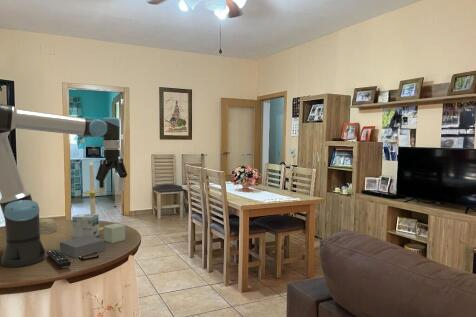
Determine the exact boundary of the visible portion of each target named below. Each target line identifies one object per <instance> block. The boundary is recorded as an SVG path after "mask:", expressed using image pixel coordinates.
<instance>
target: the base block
mask: <svg viewBox="0 0 476 317" xmlns="http://www.w3.org/2000/svg"><path fill="white" fill-rule="evenodd" d="M105 242H106V241H104V238H99V237H97V236H96V237H93V236H90V235H87V236H83V237H78V238H70V239H67V240H61V241H60V242H59V248H60V249H59V252H61V254H63V255H65V256H68V257H71V258H73V259H75V260H76V259H79V256H80V255H83V254H87V253H92V252H97V254H99V253H101V252H105V251H106V247H105V245H106V244H105Z"/></svg>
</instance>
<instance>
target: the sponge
mask: <svg viewBox="0 0 476 317" xmlns="http://www.w3.org/2000/svg"><path fill="white" fill-rule="evenodd" d="M39 224H40V235H47V234H52V233H56V232H57V230H58V229H57V222H56V220H54V219H52V218H47V217H46V218H43V217H42V218H39Z"/></svg>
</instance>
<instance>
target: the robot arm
mask: <svg viewBox="0 0 476 317" xmlns="http://www.w3.org/2000/svg"><path fill="white" fill-rule="evenodd" d="M120 128H121V127H120V119H119V118H118V117H109V116H108V117H103V118H102V120H101V119H98V118H97V119H93V118H84V117H79V116H72V115H63V114H56V113H48V112H41V111H34V110H33V111H32V110H27V109H19V108H17V107H15V106H14V105H8V104H3V103H0V195H1V198H0V208H1V212H2V215H3V218H4V223H5V227H4V228H5V247H4V250H3V253H2V257H1V265H2V266H3V267H7V268H17V267H18V268H19V267H24V266H29V265H30V266H31V265H35V264H37V263H40V262H42V261H43V260H45V259H46V258H47V256H46V255H47V252H46V249H45V247H44V245H43V242H42V240H41V234H40V224H39V220H40V206H39V203H38V202H37V201H34V200H33V198H32V195H31V192H29V191H27V190H25V187H24V183H23V181H22V177H21V174H20V171H19V168H18V166H17V162H16V159H15V155H14V154H13V153H14V152H13V150H12V146H11V144H10V140H9V137H8V136H9V135H10V133H11V131H13V130H14V129H20V130H28V131H40V132H46V133H47V132H48V133H57V134H67V135H75V136H77V137H79V138H103V142H102V143H103V144H102V145H103V149H104V150H103V157H104V158H105V159H100V161H99V162H100V163H99V167H98V170H97V173H96V176H95V180H96V181H98V182H99V184H98V188H99V191H100V193H99V194H100V195H105V196H106V195H107V190H106V189H107V185H106V180H105V179H106V178H107V176H108V174H109V171H110V170H112V169H115V170H114V171H115V172H116V174H118V176H119V177H118V191H122V192H123V191H125V178H127V176H128V173H127V169H126V167H125V164H124V159H123V158H121V150H120V146H121V144H120V143H121V142H120V138H121V137H120V136H121V134H120V131H121V130H120Z"/></svg>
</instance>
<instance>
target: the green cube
mask: <svg viewBox="0 0 476 317" xmlns="http://www.w3.org/2000/svg"><path fill="white" fill-rule="evenodd" d="M102 227H103V228H104V229H103V240H104V241H105V242H107V243H111V244H114V243H118V242H121V241H125V240H126V225H124V224H121V223H117V222H116V223H112V224H107V225H103V226H102Z"/></svg>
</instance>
